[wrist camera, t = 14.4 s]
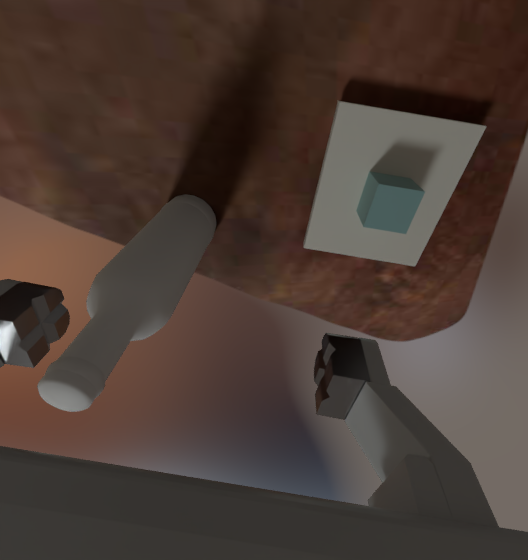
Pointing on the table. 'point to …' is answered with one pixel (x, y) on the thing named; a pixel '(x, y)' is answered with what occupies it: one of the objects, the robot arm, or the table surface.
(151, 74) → the table surface
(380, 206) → the teal block
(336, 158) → the cream wooden base
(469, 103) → the table surface
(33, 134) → the table surface
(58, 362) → the bottle
